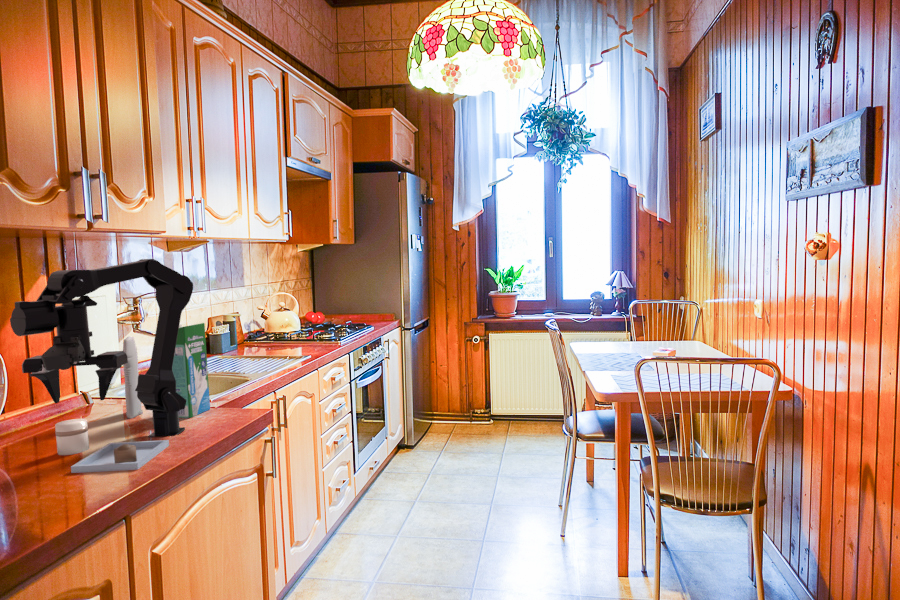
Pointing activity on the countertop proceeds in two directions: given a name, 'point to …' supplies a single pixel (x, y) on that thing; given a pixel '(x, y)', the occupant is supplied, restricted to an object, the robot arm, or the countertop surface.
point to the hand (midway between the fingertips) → (79, 401)
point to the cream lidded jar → (72, 436)
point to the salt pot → (125, 454)
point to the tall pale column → (131, 378)
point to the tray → (106, 462)
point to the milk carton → (191, 370)
